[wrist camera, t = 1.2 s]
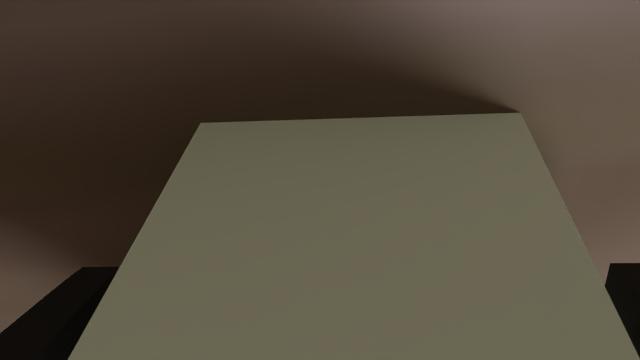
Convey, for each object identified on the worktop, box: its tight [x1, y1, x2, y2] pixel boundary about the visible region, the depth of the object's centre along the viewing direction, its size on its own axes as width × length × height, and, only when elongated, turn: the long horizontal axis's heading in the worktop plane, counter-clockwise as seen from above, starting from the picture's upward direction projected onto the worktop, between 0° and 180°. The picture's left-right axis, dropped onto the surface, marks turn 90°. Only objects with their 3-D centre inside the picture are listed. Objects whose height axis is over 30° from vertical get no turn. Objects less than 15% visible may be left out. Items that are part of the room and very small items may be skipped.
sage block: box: [68, 113, 640, 360], centre depth 9 cm, size 5×5×5 cm
